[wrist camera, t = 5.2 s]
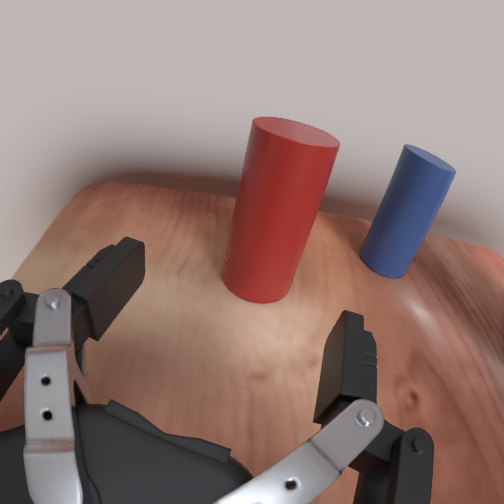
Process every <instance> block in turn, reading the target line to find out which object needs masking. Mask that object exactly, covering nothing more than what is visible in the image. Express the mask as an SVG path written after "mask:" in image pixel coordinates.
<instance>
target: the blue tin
mask: <svg viewBox="0 0 504 504" xmlns="http://www.w3.org/2000/svg"><path fill="white" fill-rule="evenodd" d="M455 174H456V171H455V169H454V168H453V167H452V166H450V165H449V164H447V163H446V162H445V161H443V160H441V159H440V158H438V157H436V156H435V155H432V154H431V153H429V152H427V151H425V150H422V149H420V148H417V147H415V146H412V145H408V144H407V145H406V144H405V145H404V147H403V150H402V153H401V155H400V158H399V161H398V163H397V166H396V168H395V171H394V173H393V176H392V178H391V181H390V183H389V185H388V188H387V190H386V193H385V195H384V197H383V200H382V202H381V205H380V207H379V209H378V212H377V214H376V216H375V218H374V221H373V223H372V225H371V227H370V229H369V232H368V234H367V236H366V238H365V240H364V242H363V244H362V247H361V249H360V256H361V258H362V260H363V261H364V263H365V264H366V265H367V266H368V267H369V268H371V269H372V270H373V271H375V272H377V273H378V274H380V275H383V276H385V277H389V278H399V277H402V276H403V275H404V273H405V272H406V270H407V268H408V267H409V265H410V263H411V261H412V260H413V258H414V256H415V254H416V252H417V251H418V249H419V247H420V245H421V243H422V242H423V240H424V238H425V236H426V234H427V232H428V230H429V228H430V226H431V225H432V223H433V220H434V218H435V217H436V215H437V213H438V211H439V209H440V207H441V204H442V202H443V200H444V198H445V196H446V194H447V192H448V190H449V187H450V185H451V183H452V181H453V179H454V176H455Z"/></svg>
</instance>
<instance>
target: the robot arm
mask: <svg viewBox="0 0 504 504" xmlns="http://www.w3.org/2000/svg"><path fill="white" fill-rule="evenodd" d="M144 276H145V246H144V243H143V242H141V241H138V240H135V239H132V238H130V237H124V238H123V239H122V240H121V241H120V242H119V243H118V244H117V245H116V246H114V245H110V246H108V247H106V248H104V249H101V250H100V251H99V252H98V253H97V254H96V255H95V256H94V257H93V259H91V260H90V261H89V262H88V263H87V264H86V266H84V267H83V268H82V269H81V270H80V271H79V272H78V273H77V274H76V275H75V276H74V277H73V278H72V279H71V280H70V281H69V282H68V283H67V284H66V285H65V286H64V287H63V288H62V289H60V288H52V289H49V290H46V291H45V292H43V293H42V294H41V295H37V294H32V293H27V292H24V291H23V288H22V285H21V284H20V283H19V282H18V281H16V280H6V281H3V282H1V283H0V335H1V334H2V333H3V331H4V330H5V329H6V328H7V329H8V332H7V333H6V335H5V336H4V337H3V338H2V340H1V341H0V401H1V400H2V398H3V397H4V395H5V393H6V392H7V390H8V389H9V387H10V386H11V384H12V382H13V381H14V379H15V378H16V376H17V375H18V373H19V372H20V370H21V369H22V367H23V366H24V364H25V368H24V412H25V425H22V426H19V427H15V428H12V429H9V430H6V431H3V432H0V504H309V503H310V502H312V501H313V500H314V499H315V498H316V497H318V496H319V495H320V494H321V493H322V492H323V491H325V490H326V489H327V488H328V487H329V486H330V485H331V484H332V483H334V482H335V481H336V480H337V479H338V478H339V477H340V475H341V474H342V473H341V472H342V471H343V469H344V468H345V467H347V466H349V467H350V468H352V469H354V470H356V471H358V472H359V477H358V482H357V487H356V492H355V496H354V501H353V504H430V499H431V488H432V476H433V458H434V444H433V440H432V438H431V436H430V435H429V434H428V433H427V432H426V431H425V430H423V429H421V428H412V429H409V430H408V431H406V432H405V431H403V430H401V429H399V428H397V427H395V426H393V425H391V424H390V423H388V422H387V421H386V420H385V419H384V416H383V413H382V411H381V409H380V408H379V407H378V406H377V402H376V396H377V368H376V366H377V358H376V356H377V352H376V342H375V340H374V338H373V335H372V333H371V332H368V331H365V330H364V318H363V315H360V314H356V313H353V312H350V311H347V310H344V311H343V312H342V313H341V315H340V317H339V319H338V320H337V322H336V324H335V326H334V327H333V329H332V331H331V332H330V334H329V336H328V338H327V341H326V343H325V347H324V353H323V360H322V368H321V375H320V382H319V388H318V395H317V401H316V407H315V413H314V418H313V423H317V424H321V430H320V431H319V432H317V433H316V434H315V435H314V436H312V437H311V438H310V439H308V440H307V441H305V442H304V443H302V444H301V445H300V446H299V447H297V448H296V449H295V450H293V451H292V452H291V453H289V454H288V455H287V456H285V457H284V458H282V459H281V460H280V461H278V462H277V463H275V464H274V465H272V466H271V467H270V468H268V469H267V470H265V471H264V472H262V473H261V474H259V475H258V476H256V477H255V478H254V477H253V476H252V474H251V473H250V472H249V471H248V470H247V468H245V467H244V466H243V465H242V464H241V463H240V462H239V461H237V460H236V459H235V458H233V457H231V456H230V452H231V449H229V448H226V447H223V446H220V445H217V444H214V443H211V442H208V441H206V440H203V439H200V438H192V437H185V436H178V435H172V434H167V433H164V432H163V431H161V430H160V429H158V428H157V427H156V426H154V425H153V424H152V423H151V422H149V421H148V420H147V419H145V418H144V417H143V416H142V415H140V414H139V413H138V412H136V411H134V410H131V409H129V408H127V407H125V406H123V405H121V404H119V403H117V402H115V401H113V400H112V399H111V400H110V401H109V403H108V405H103V404H94V403H93V399H92V395H91V392H90V388H89V381H88V372H87V361H86V348H85V341H86V340H87V339H88V337H90V338H92V339H94V340H96V341H99V339H100V338H101V337H102V335H103V334H104V333H105V331H106V330H107V328H108V327H109V326H110V324H111V323H112V322H113V320H114V319H115V318H116V317H117V315H118V314H119V313H120V311H121V310H122V309H123V307H124V306H125V305H126V303H127V302H128V301H129V300H130V298H131V297H132V296H133V294H134V293H135V292H136V291H137V289H138V288H139V287H140V285H141V284H142V282H143V279H144Z"/></svg>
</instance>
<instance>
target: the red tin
mask: <svg viewBox="0 0 504 504" xmlns="http://www.w3.org/2000/svg"><path fill="white" fill-rule="evenodd" d="M339 146H340V142H339V141H338V140H337V139H336V138H335V137H333V136H332V135H330V134H328V133H326V132H324V131H322V130H320V129H318V128H315V127H313V126H310V125H307V124H304V123H300V122H297V121H293V120H288V119H283V118H276V117H258V118H255V119H254V120H253V122H252V126H251V131H250V136H249V140H248V145H247V149H246V154H245V159H244V164H243V168H242V174H241V178H240V183H239V189H238V193H237V198H236V203H235V208H234V213H233V218H232V223H231V228H230V233H229V238H228V243H227V249H226V254H225V259H224V264H223V270H222V278H223V281H224V283H225V285H226V286H227V287H228V289H229V290H230V291H231V292H233V293H234V294H235V295H237V296H239V297H240V298H243V299H245V300H248V301H251V302H256V303H270V302H274V301H277V300H279V299H281V298H283V297H284V296H285V295H286V294H287V292H288V290H289V288H290V285H291V283H292V280H293V277H294V275H295V272H296V269H297V267H298V264H299V261H300V259H301V256H302V253H303V251H304V248H305V245H306V242H307V240H308V237H309V234H310V231H311V229H312V226H313V223H314V220H315V217H316V215H317V212H318V209H319V206H320V203H321V200H322V197H323V195H324V192H325V189H326V186H327V183H328V180H329V177H330V174H331V171H332V168H333V165H334V162H335V159H336V155H337V152H338V150H339Z"/></svg>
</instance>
